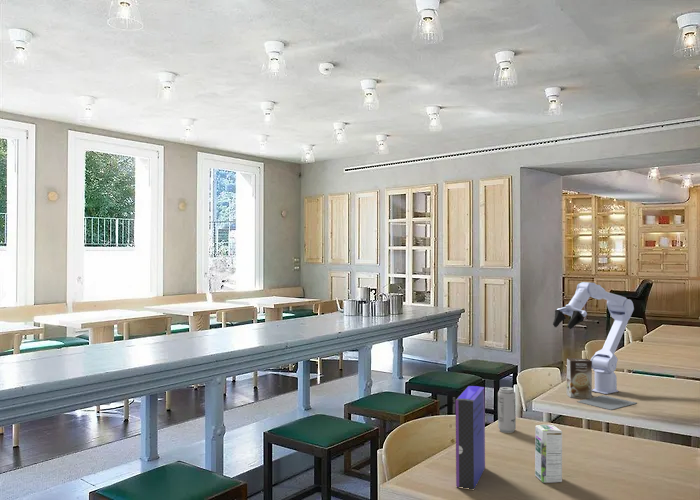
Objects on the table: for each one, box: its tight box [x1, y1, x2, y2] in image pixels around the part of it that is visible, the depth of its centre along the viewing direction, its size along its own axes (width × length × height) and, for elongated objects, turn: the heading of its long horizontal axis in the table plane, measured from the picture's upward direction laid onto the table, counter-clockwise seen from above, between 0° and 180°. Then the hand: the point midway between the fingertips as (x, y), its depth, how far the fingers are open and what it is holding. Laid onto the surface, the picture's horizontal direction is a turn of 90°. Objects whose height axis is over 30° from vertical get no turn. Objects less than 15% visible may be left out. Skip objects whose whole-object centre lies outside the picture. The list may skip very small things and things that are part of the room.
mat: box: [576, 394, 638, 411], centre depth 246 cm, size 18×16×1 cm
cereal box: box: [455, 385, 486, 490], centre depth 167 cm, size 17×5×24 cm, turn 157°
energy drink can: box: [497, 386, 517, 434], centre depth 209 cm, size 6×6×15 cm
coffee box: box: [566, 357, 593, 399], centre depth 257 cm, size 9×6×16 cm
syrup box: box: [534, 424, 563, 484], centre depth 165 cm, size 6×6×14 cm
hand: (561, 326), depth 250 cm, fingers open, 7 cm apart
